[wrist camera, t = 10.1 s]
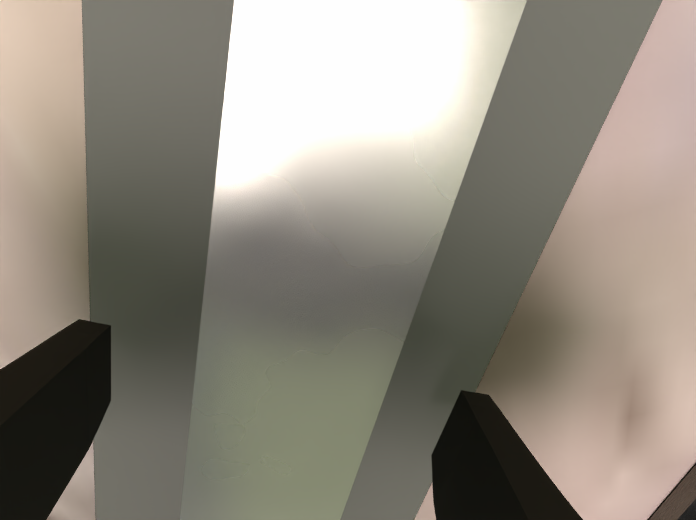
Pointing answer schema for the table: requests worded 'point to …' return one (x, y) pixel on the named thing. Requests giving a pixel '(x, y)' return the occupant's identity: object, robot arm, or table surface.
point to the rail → (326, 234)
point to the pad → (196, 212)
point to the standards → (680, 501)
